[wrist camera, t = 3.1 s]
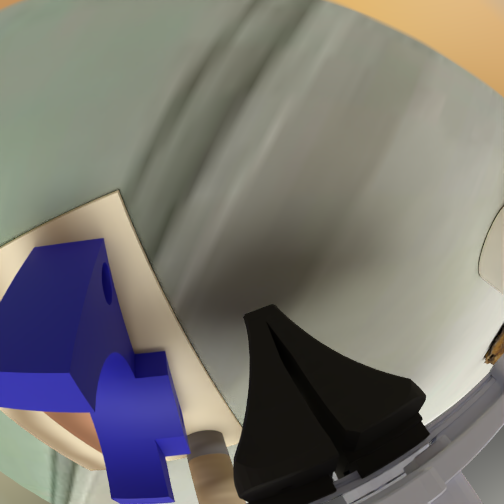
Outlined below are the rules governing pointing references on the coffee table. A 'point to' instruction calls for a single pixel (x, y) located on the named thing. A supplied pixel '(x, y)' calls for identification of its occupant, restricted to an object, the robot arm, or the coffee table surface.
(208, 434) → the cylindrical peg
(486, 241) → the bottle
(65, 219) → the plywood sheet
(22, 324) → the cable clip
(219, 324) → the coffee table surface
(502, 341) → the decorative rock
